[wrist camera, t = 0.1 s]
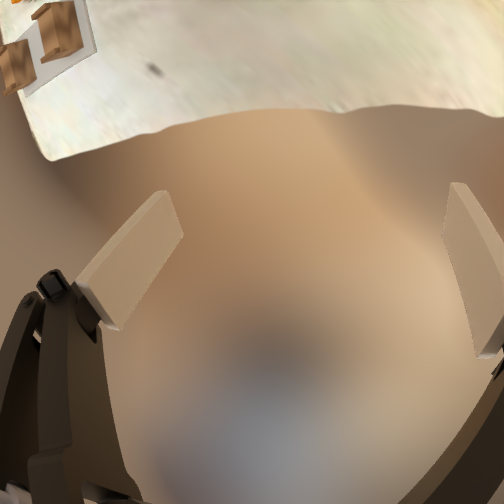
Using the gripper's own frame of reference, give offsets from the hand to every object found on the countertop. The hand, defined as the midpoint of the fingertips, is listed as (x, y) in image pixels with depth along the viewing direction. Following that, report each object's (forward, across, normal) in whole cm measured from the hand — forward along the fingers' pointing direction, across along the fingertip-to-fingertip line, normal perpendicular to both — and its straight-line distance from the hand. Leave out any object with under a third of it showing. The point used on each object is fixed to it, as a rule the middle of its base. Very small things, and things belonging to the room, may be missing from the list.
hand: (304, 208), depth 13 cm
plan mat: (+28, -44, +23) cm, 57 cm away
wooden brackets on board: (+28, -44, +23) cm, 57 cm away
